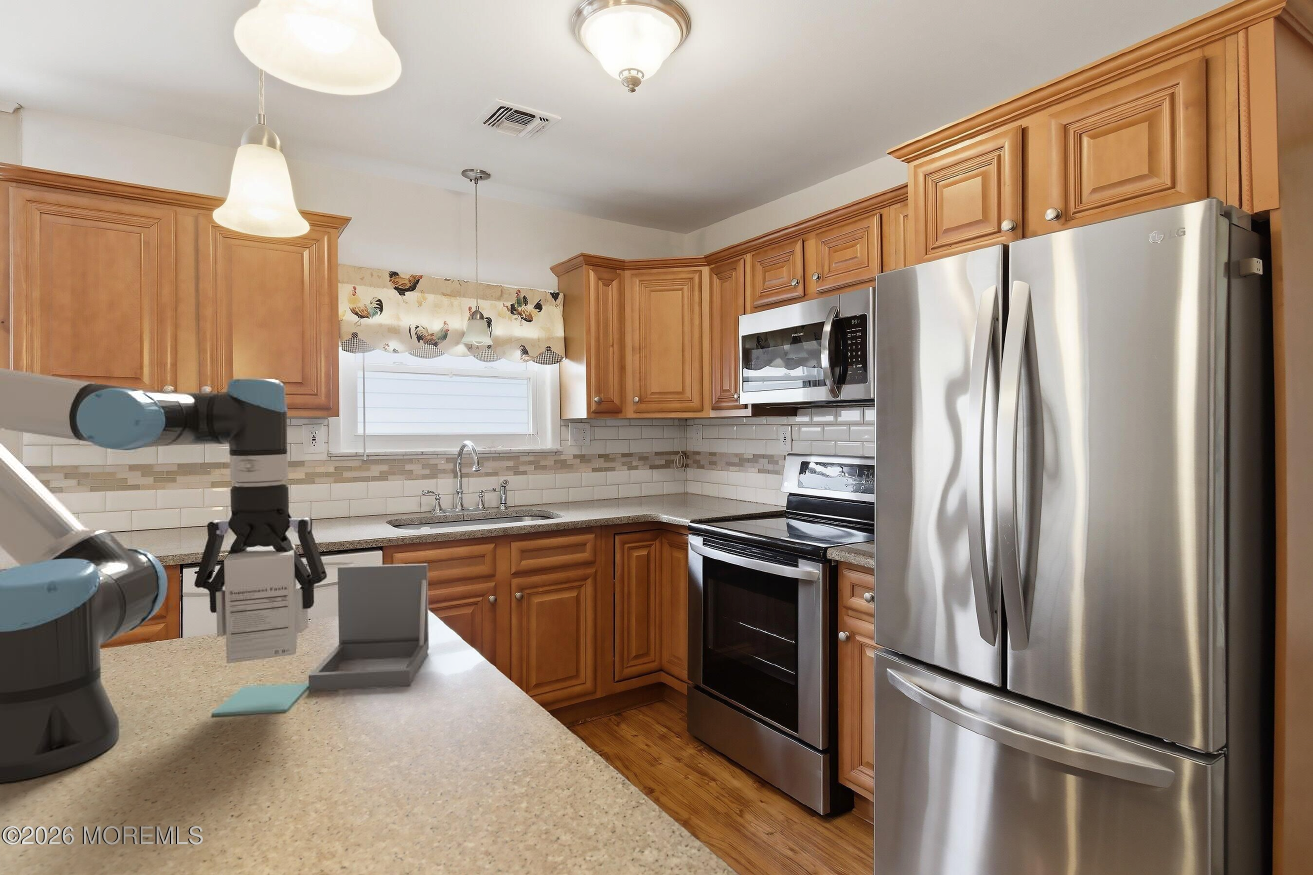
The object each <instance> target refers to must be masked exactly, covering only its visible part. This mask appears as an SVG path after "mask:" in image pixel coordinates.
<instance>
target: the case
mask: <svg viewBox="0 0 1313 875" xmlns="http://www.w3.org/2000/svg"><path fill="white" fill-rule="evenodd" d="M428 565H429V564H428V563H407V564H379V565H378V564H375V565H374V564H373V565H343V566H342V565H339V566H337V599H338V600H337V602H338V604H337V605H338V606H337V607H338V608H337V609H338V610H337V612H338V616H337V617H338V644H337V645H336V647H335V648H334V649H332V650H331V652H330V653H328V655H327V656H326V657H325V658H324V659H323V660H322V661H321V662H320V663H319V664H318V665H317V666H316V667H315V668H314V669H313V670H312V671H311V672H310V673H309V675H308V683H309V688H308V692H321V691H341V690H343V691H344V690H358V689H359V690H360V689H361V690H362V689H379V688H397V687H398V688H399V687H411V685H412V683H413V681H414V679H415V678H416V676H417V674H418V672H419V670H420V669H421V667H422V664H423V663H424V662H425V660H426V658H427V656H428V653H429V648H430V647H429V641H430V639H429V638H430V637H429V636H430V635H429V632H430V631H429V576H428V572H429V567H428ZM391 658H395V659H396V658H410V659H409V660H408V662H407V663H406V665H405V667H404V668H385V669H384V668H383V669H365V670H363V669H362V670H361V669H360V670H347V671H346V670H345V671H343V670H342V671H335V670H336V669H337V668H338V667H339V666H340V665H341V663H342V662H343V661H350V660H351V661H352V660H354V661H355V660H366V659H367V660H372V659H375V660H376V659H391Z"/></svg>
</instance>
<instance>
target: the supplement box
mask: <svg viewBox="0 0 1313 875" xmlns="http://www.w3.org/2000/svg"><path fill="white" fill-rule="evenodd" d="M291 545H292V546H293V548H294V549H295V550H296V545H295V544H291ZM226 556H227V555H226ZM226 556H225V557H226ZM224 559H225V558H224ZM224 559H223V561H224V575H225V586H224V588H225V615H226V635H225V642H226V643H225V644H226V649H225V650H226V664H234V663H242V662H250V661H256V660H265V659H271V658H278V657H280V658H281V657H287V656H294V655H296V652H297V648H298V640H299V633H296V601H295V589H297V580H296V578H295V567H294V550H292V551H289V552H277V551H275V549H274V548H273V547H272V546H270V547H263V546H255V547H248V548H247V549H246V550H244V551H242V552H239V553H234V554H229V555H228V556H227V557H226V559H225V560H224Z"/></svg>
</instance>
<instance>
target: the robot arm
mask: <svg viewBox="0 0 1313 875" xmlns="http://www.w3.org/2000/svg"><path fill="white" fill-rule="evenodd" d="M286 398H287V397H286V388H285V384H283V382H282V381H280V380H276V379H270V378H269V379H268V378H233V379H230V380H228V382H227V387H226V391H221V392H216V393H215V392H214V393H212V392H211V393H209V392H178V391H177V392H176V391H164V390H163V391H162V390H161V391H160V390H148V389H147V390H145V389H138V388H129V387H124V386H117V385H112V384H103V383H95V382H91V381H84V380H78V379H71V378H65V377H59V376H53V375H48V374H47V375H46V374H40V373H33V372H27V371H22V370H21V371H20V370H16V369H15V370H14V369H8V368H2V367H0V430H3V431H10V432H17V433H26V434H32V435H38V436H47V437H54V438H59V439H60V438H62V439H68V440H75V441H82V442H88V443H92V444H93V445H95V446H97V447H99V448H103V449H108V450H109V449H110V450H119V451H120V450H121V451H132V450H138V449H143V448H144V449H145V448H152V447H153V448H154V447H156V448H157V447H168V446H169V447H171V446H183V445H184V446H185V445H212V444H218V445H223V444H224V445H225V444H228V447H229V451H228V452H229V453H228V454H229V481H230V482H232V483H234V485H233V486H232V487H231V488H230V490H229V492H230V511H231V516H230V518H229V519H226V520H223V519H220V518H219V519H216V520H212V521H209V522H208V523H207V525H206V527H207V528H206V529H207V541H206V544H205V545H204V546H205V547H204V550H203V553H202V557H201V560H200V563H199V566H198V570H197V573H196V575H195V576H196V577H195V580H194V582H193V583H194V587H195V588H197V589H200V588H202V589H203V590H205V589H206V590H207V591H208V592H209V611H210V613H211V614H215V613H216V637H218V638H219V637H224V636H226V615H225V575H224V560H225V559H226V557H227V556H228V555H229V554H234V553H239V552H242V551H244V550H246V549H247V548H254V547H271V546H272V547H273V548H274V549H275V551H277V552H289V551H292V550H294V567H295V578H296V582H298V585H300V586H299V587H296V589H295V601H296V633H298V634H300V633H303V632H305V630H307V629H308V628H309V612H308V610H309V609H311V608H312V607H313V606H314V604H315V589H314V588H315V585H317V584H320V583H321V582H323V581H324V580H326V579H327V577H328V573H327V570H326V568H325V566H324V562H323V559H322V557H321V553H320V551H319V548H318V545H317V543H316V540H315V537H314V534H313V519H312V517H309V516H307V517H304V518H292V515H291V514H290V512H289V509H290V498H289V497H290V496H289V485H288V484H287V483H285V481H287V480H288V479H289V460H288V412H289V411H288V408H287V407H288V406H287V399H286ZM291 527H292V529H293V531H294V533H296V534H297V537H298V540H299V544H300V546H301V550H302V553H303V556H304V558H305V560H306V563H307V566H308V567H307V566H306V565H305V562H304V561H303V560H302V558H301V556H299V554H298V552H297V551H296V548H295V549H294V548H293V546H292V545H293V544H292V541H291V540H290V538H289V537H288V535H287V534H286V533H287V532H288V530H289V529H290V528H291ZM229 529H230V530H231V532H232V533H233V534H234V535H235V539H234V541H233V542H232V544H231V545H230V547H229V550H228V553H227V554H226V556H225V558H224V559H223V561H222V562H221V564H220V566H219V568H218V569H217V571H216V572H215V570H216V567H217V562H218V559H219V556H220V553H221V550H222V546H223V542H224V539H225V535H226V534H227V533H228V531H229ZM0 548H1V549H2V550H4V551H5V552H6V553H7V554H8V555H9V556H10V557H11V558H12V559H13V560H14V561H15V562H16V563H17V564H18V565H19V566H18V565H17V566H15V567H11V568H7V569H5V570H2V571H0V783H9V782H15V781H22V780H28V779H32V778H33V779H34V778H36V777H40V776H45V775H49V774H53V773H56V772H59V771H63V770H65V769H68V768H72V767H74V766H77V765H79V764H81V763H84V762H87V761H89V760H91V759H93V758H95V757H97V756H99V755H102V754H103V753H104V752H106V751H107V750H109V749H111V748H112V747H113V746H114V745H115V744H116V743H117V742H118V741H119V738H120V720H119V717H118V715H117V714H116V712H115V709H114V707H113V704H112V702H111V700H110V698H109V696H108V693H107V692H106V690H105V688H104V685H103V682H102V678H101V674H102V673H101V671H102V669H101V646H102V645H104V644H106V643H108V642H110V641H112V640H114V639H116V638H117V637H119V636H122V635H123V634H126V633H129V632H131V631H134V630H136V629H137V628H139V627H140V626H142V625H143V623H145V622H146V621H147V620H149V619H150V618H152V617H153V616H154V615H155V614H156V613H157V612H158V610H160V608H161V607H162V606H163V604H164V602H165V598H166V596H167V592H168V591H167V590H168V576H167V573H166V570H165V568H164V566H163V565H162V563H161V562H160V561H159V560H158V558H157V557H156V556H154V555H152V554H151V553H150V552H147V551H145V550H141V549H138V548H131V547H130V548H129V547H125V546H124V545H123V544H122V543H121V542H120V540H118V539H117V538H116V537H114V535H113V534H112V533H110V531H108V530H106V529H93V528H92V529H91V528H88V527H87V526H86V525H85V524H84V523H83V522H82V521H81V520H80V519H78V517H77V516H76V515H75V514H74V513H73V512H71V510H69V508H68V507H67V506H65V505H64V503H62V501H61V500H59V499H58V498H57V497H56V496H55V494H53V493H52V492H51V491H50V490H49V489H48V488H47V487H46V486H45V485H44V484H43V483H42V482H41V481H40V480H39V479H38V478H37V477H35V475H34V474H33V473H32V472H31V471H29V470H28V468H26V466H24V465H23V463H21V461H19V460H18V459H17V457H15V456H14V455H13V454H12V453H11V452H10V451H9V450H8V449H7V448H6V447H5V446H4V445H3V444H2V443H1V442H0Z"/></svg>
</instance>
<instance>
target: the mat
mask: <svg viewBox="0 0 1313 875" xmlns="http://www.w3.org/2000/svg"><path fill="white" fill-rule="evenodd" d="M308 690H309V682H306V683H305V682H304V683H286V684H283V683H281V684H265V685H264V684H263V685H243V686H242V687H241V688H240V689H238V690H237V691H236V692H235V693H233V694H232V695H231V696H230V697H229V698H228V699H226V700H225V701H224V702H223V703H222V704H221V705H219V706H218V707H217V708H216V709H214V711H212V712H211V717H218V716H233V715H234V716H235V715H236V716H237V715H252V714H272V713H287V712H289V710H290V709H291V708H292V707H293V705H295V704H296V702H298V700H299V699H300V698H302V696H303V695H304V694H305V693H306V691H308Z"/></svg>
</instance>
